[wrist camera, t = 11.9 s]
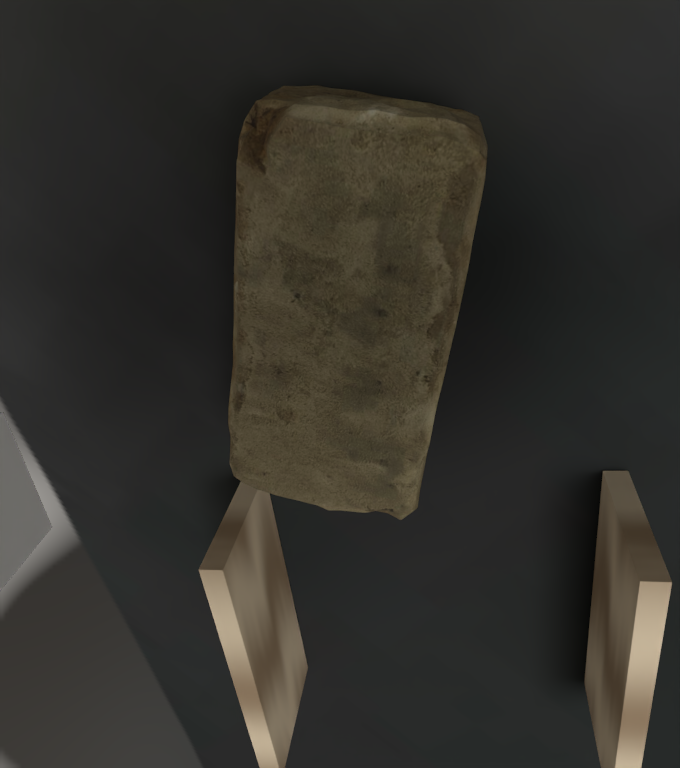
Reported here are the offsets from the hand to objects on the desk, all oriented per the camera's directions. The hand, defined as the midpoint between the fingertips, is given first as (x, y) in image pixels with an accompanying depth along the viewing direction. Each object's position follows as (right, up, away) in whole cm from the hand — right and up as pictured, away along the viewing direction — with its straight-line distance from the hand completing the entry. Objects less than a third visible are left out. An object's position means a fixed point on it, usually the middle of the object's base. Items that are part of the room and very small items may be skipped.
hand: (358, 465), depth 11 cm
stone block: (0, +5, +9) cm, 10 cm away
